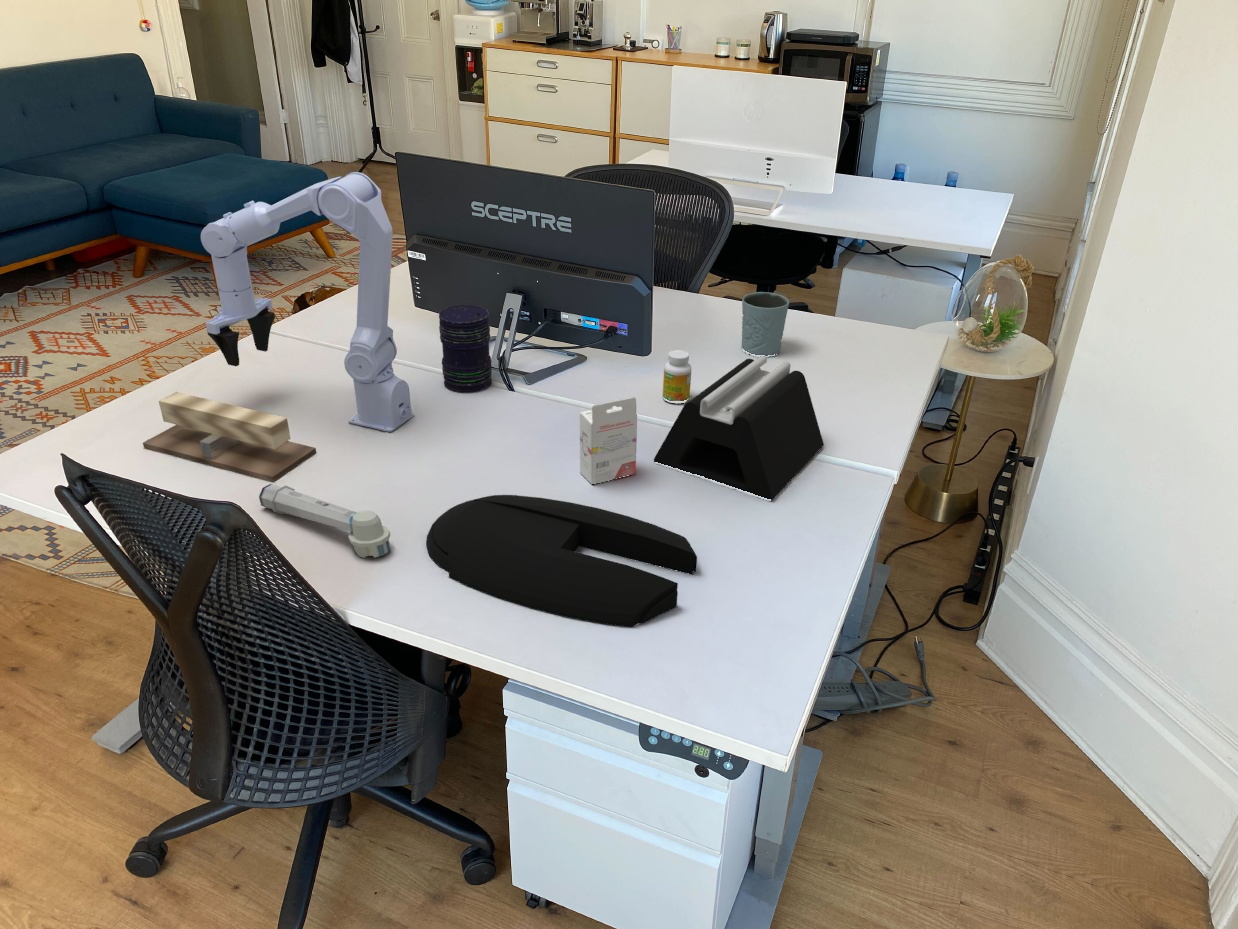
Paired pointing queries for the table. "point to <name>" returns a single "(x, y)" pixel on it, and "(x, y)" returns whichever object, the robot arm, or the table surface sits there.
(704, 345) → the table surface
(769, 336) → the embossed green cup
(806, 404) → the device stand
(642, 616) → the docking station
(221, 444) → the ridge
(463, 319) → the storage jar
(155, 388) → the table surface
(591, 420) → the ink cartridge box
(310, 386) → the table surface
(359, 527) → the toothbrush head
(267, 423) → the beech rod
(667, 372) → the supplement bottle
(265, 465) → the board
